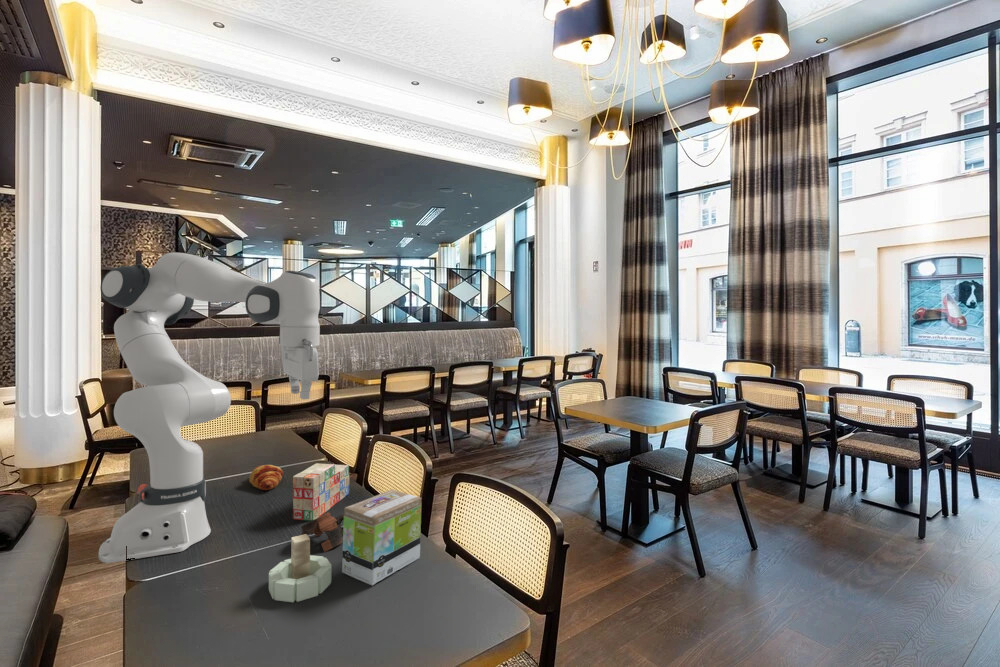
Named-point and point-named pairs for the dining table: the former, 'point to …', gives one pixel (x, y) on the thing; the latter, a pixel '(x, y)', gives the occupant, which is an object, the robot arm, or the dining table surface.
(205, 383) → the robot arm
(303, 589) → the sage ring
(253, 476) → the croissant
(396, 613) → the dining table surface
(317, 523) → the pottery mug
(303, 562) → the wooden block
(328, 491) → the stack of blocks
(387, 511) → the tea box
